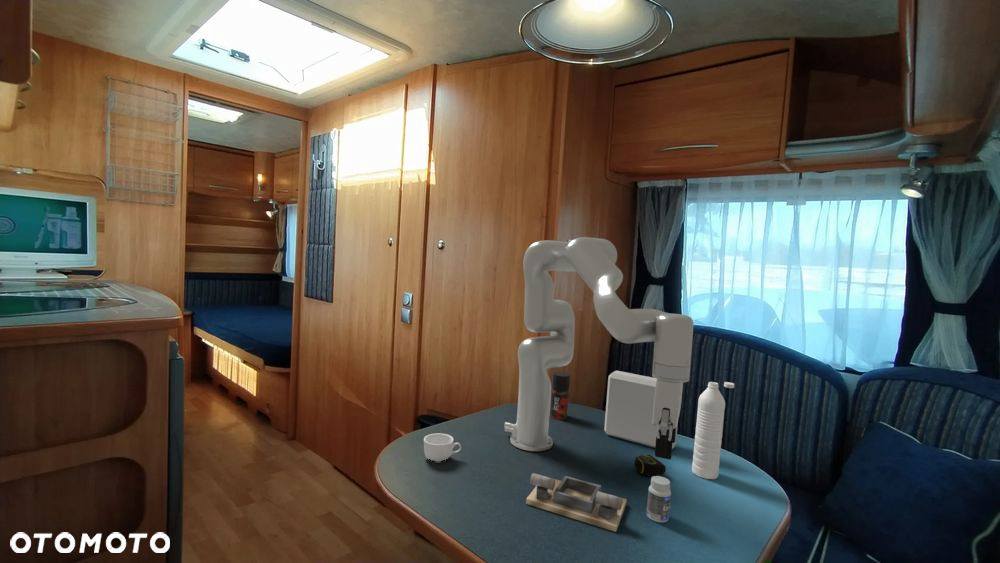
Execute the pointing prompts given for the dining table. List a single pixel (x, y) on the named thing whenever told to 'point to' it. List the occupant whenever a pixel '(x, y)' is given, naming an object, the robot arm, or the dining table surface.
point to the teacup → (439, 446)
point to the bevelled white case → (631, 408)
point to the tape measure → (649, 465)
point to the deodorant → (560, 395)
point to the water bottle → (709, 432)
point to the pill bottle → (659, 499)
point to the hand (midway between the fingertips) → (665, 449)
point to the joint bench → (577, 500)
